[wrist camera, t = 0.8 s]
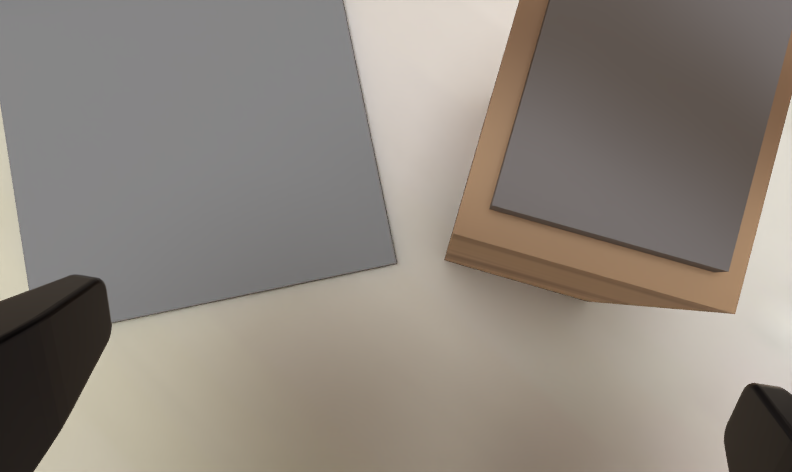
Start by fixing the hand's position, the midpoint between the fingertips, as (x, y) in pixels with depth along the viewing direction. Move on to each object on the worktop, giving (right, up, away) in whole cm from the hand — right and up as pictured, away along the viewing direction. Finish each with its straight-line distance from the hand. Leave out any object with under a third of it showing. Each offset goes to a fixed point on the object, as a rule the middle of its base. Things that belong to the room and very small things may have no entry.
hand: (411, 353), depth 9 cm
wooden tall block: (+5, +3, +15) cm, 17 cm away
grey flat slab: (-8, +6, +16) cm, 20 cm away
